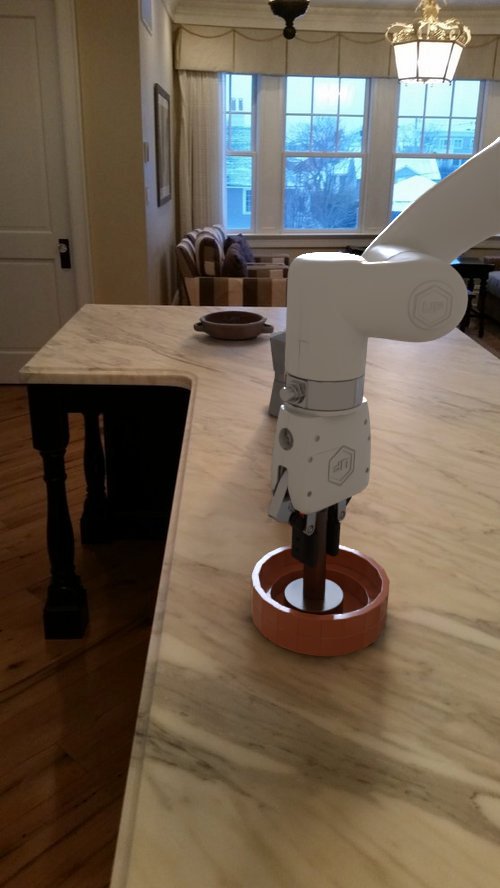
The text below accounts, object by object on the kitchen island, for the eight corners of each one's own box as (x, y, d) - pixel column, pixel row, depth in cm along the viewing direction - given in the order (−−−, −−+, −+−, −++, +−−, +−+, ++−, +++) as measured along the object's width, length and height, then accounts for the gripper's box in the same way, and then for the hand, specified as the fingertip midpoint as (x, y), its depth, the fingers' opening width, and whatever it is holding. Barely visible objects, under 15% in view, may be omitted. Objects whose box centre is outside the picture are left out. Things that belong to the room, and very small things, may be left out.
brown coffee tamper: (312, 588, 81) (315, 487, 76) (355, 614, 76) (361, 508, 71) (271, 611, 77) (271, 506, 72) (313, 639, 72) (317, 529, 67)
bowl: (316, 564, 87) (318, 529, 85) (413, 620, 77) (417, 581, 75) (224, 611, 78) (224, 573, 76) (320, 681, 68) (322, 639, 66)
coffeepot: (256, 402, 142) (258, 314, 135) (299, 398, 145) (303, 311, 138) (284, 429, 129) (287, 332, 122) (331, 424, 131) (337, 329, 124)
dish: (197, 326, 202) (196, 309, 200) (274, 328, 201) (274, 310, 199) (190, 342, 186) (189, 323, 184) (273, 343, 185) (273, 325, 183)
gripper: (290, 419, 59) (283, 602, 66) (408, 381, 69) (391, 544, 76) (232, 396, 64) (232, 568, 71) (350, 365, 74) (340, 519, 81)
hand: (314, 554), depth 74 cm, fingers closed on brown coffee tamper, 2 cm apart
